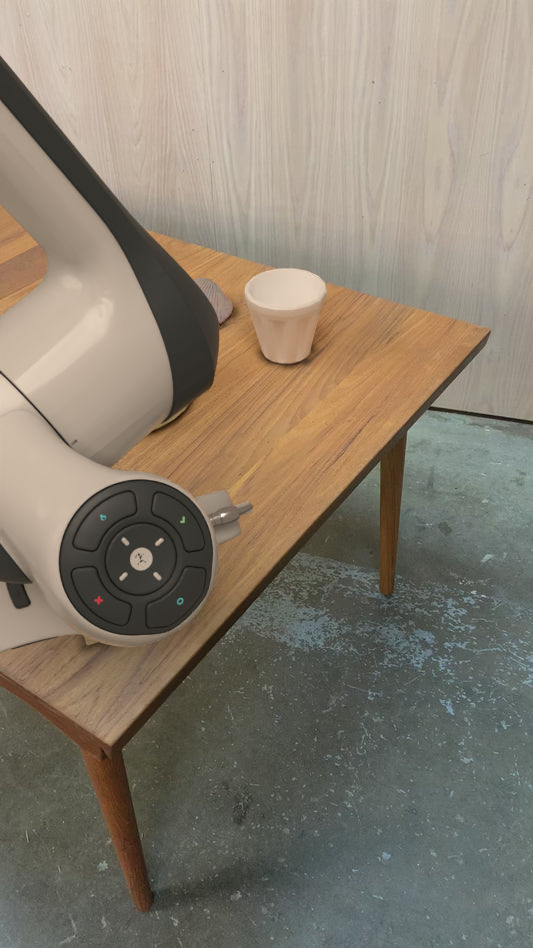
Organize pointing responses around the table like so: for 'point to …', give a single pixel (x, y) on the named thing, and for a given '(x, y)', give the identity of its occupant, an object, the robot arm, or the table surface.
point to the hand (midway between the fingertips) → (95, 556)
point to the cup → (285, 312)
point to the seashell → (215, 298)
